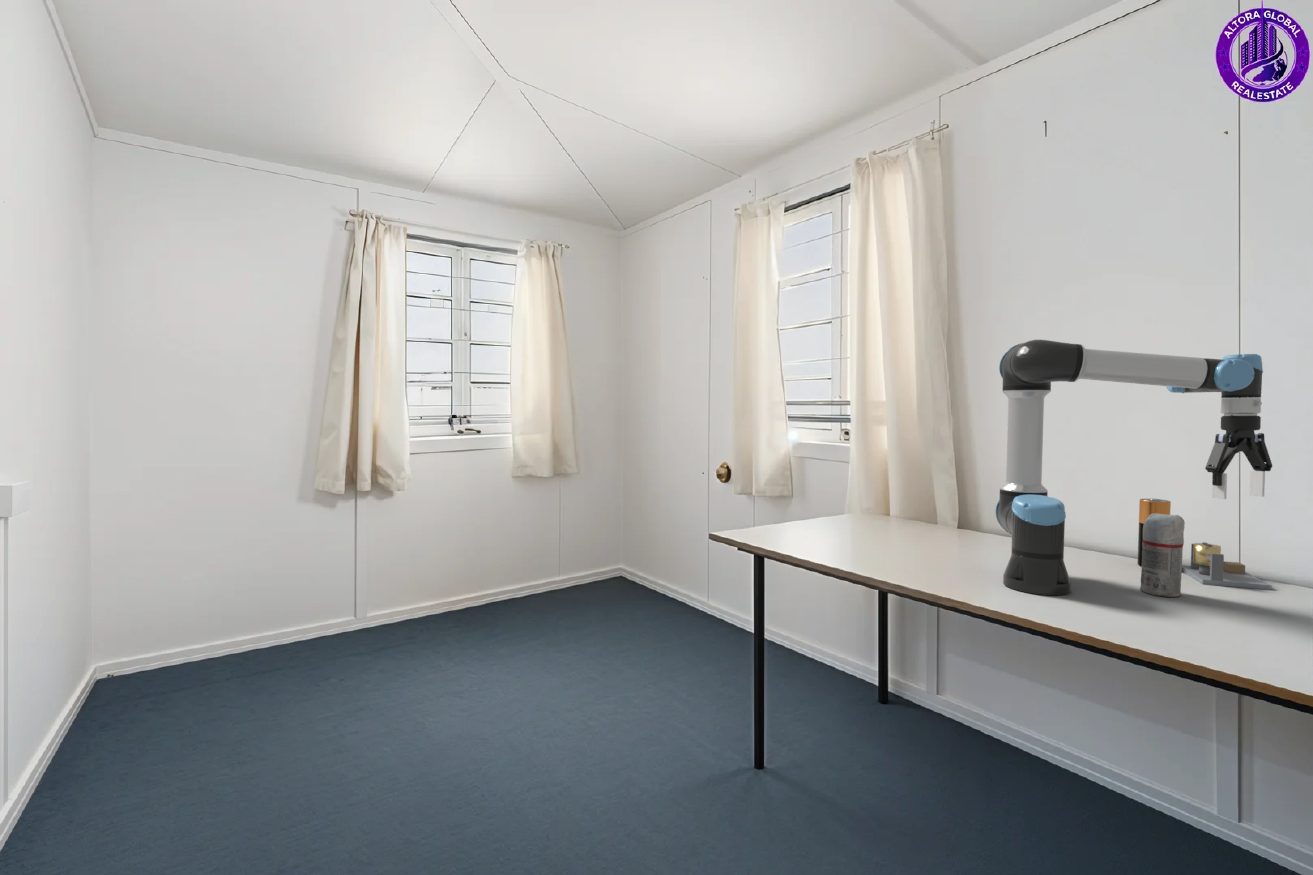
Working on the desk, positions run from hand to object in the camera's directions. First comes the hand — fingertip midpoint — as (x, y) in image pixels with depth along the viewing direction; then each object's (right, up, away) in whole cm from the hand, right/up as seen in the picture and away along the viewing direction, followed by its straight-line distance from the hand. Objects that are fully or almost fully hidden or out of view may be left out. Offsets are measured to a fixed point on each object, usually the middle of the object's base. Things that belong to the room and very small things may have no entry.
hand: (1238, 497), depth 162 cm
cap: (0, -19, +10) cm, 21 cm away
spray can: (-23, -24, -4) cm, 34 cm away
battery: (-4, -23, +23) cm, 33 cm away
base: (+4, -23, +10) cm, 25 cm away
